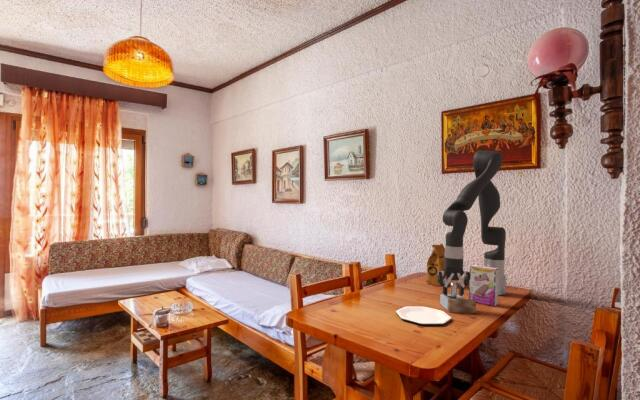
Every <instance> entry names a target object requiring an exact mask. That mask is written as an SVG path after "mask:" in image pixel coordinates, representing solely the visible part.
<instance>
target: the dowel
mask: <svg viewBox="0 0 640 400" xmlns="http://www.w3.org/2000/svg"><path fill="white" fill-rule="evenodd" d="M457 295H458V282H456V281H450V299H457Z"/></svg>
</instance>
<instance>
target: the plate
mask: <svg viewBox="0 0 640 400" xmlns="http://www.w3.org/2000/svg"><path fill="white" fill-rule="evenodd" d="M395 314H397V315H398V316H399V318H400V319H402V320H404V321H407V322H411V323H415V324H418V325H426V326H427V325H429V326H430V325H432V326H433V325H434V326H435V325H439V326H440V325H442V326H443V325H445V324H446V323H448V322H450V321H451V320H452V316H451V315H448V314H447V313H446V312H445V311H443V310H440V309H437V308H432V307H429V306H428V307H427V306H416V305H415V306H411V305H410V306H403V307H401V308H399V309H396V310H395Z"/></svg>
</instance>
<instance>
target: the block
mask: <svg viewBox="0 0 640 400" xmlns="http://www.w3.org/2000/svg"><path fill="white" fill-rule="evenodd" d="M439 296H440V297H439V299H440V300H439V302H440V303H439V304H440V305H441V306H442V307H443V309H445V310H446V311H448V299H450V294H449V293H447V296H445V295H444V294H443V293H442V294H440V295H439ZM457 299H465V297H463V296H460V295H459V294H457Z"/></svg>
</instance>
